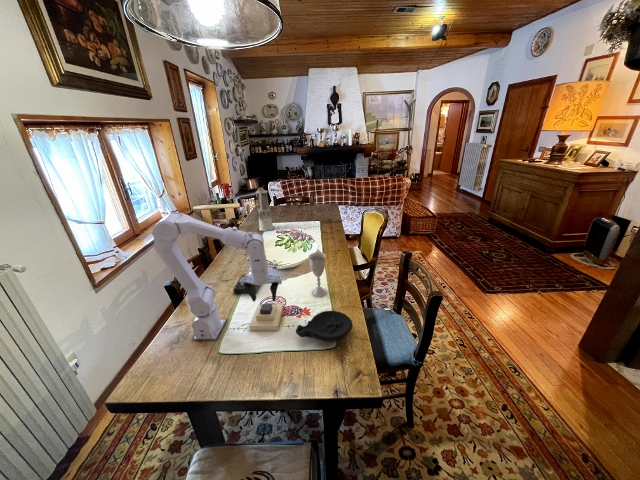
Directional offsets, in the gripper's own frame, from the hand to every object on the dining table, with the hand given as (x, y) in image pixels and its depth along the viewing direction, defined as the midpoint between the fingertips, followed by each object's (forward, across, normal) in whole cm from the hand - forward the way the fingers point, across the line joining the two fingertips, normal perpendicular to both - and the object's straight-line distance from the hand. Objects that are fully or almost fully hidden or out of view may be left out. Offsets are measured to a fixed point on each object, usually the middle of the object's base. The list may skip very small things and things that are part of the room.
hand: (264, 299), depth 93 cm
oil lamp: (+9, -22, +8) cm, 25 cm away
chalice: (+9, -19, -16) cm, 26 cm away
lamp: (+9, +24, -94) cm, 97 cm away
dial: (+6, +14, -22) cm, 27 cm away
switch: (+5, 0, 0) cm, 5 cm away
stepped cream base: (+9, 0, 0) cm, 9 cm away
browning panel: (+9, +14, -22) cm, 28 cm away
